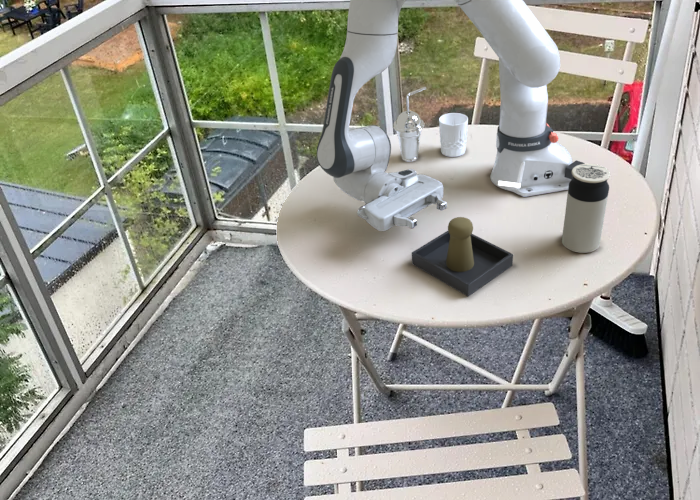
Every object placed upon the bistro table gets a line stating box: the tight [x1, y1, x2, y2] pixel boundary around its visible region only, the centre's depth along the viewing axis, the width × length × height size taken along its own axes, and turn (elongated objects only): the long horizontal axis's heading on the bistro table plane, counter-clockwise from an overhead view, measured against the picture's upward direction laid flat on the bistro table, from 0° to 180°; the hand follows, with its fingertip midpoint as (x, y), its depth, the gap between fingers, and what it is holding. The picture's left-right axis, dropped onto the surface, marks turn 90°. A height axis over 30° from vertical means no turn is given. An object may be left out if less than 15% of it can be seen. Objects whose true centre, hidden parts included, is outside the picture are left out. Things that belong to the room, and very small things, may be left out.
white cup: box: [438, 112, 469, 158], centre depth 181 cm, size 8×8×10 cm
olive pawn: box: [446, 216, 474, 272], centre depth 139 cm, size 6×6×11 cm
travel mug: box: [561, 163, 611, 254], centre depth 139 cm, size 8×8×18 cm
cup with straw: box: [392, 86, 427, 163], centre depth 178 cm, size 8×9×20 cm
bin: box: [411, 230, 514, 297], centre depth 141 cm, size 16×14×3 cm
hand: (429, 215), depth 143 cm, fingers open, 8 cm apart
